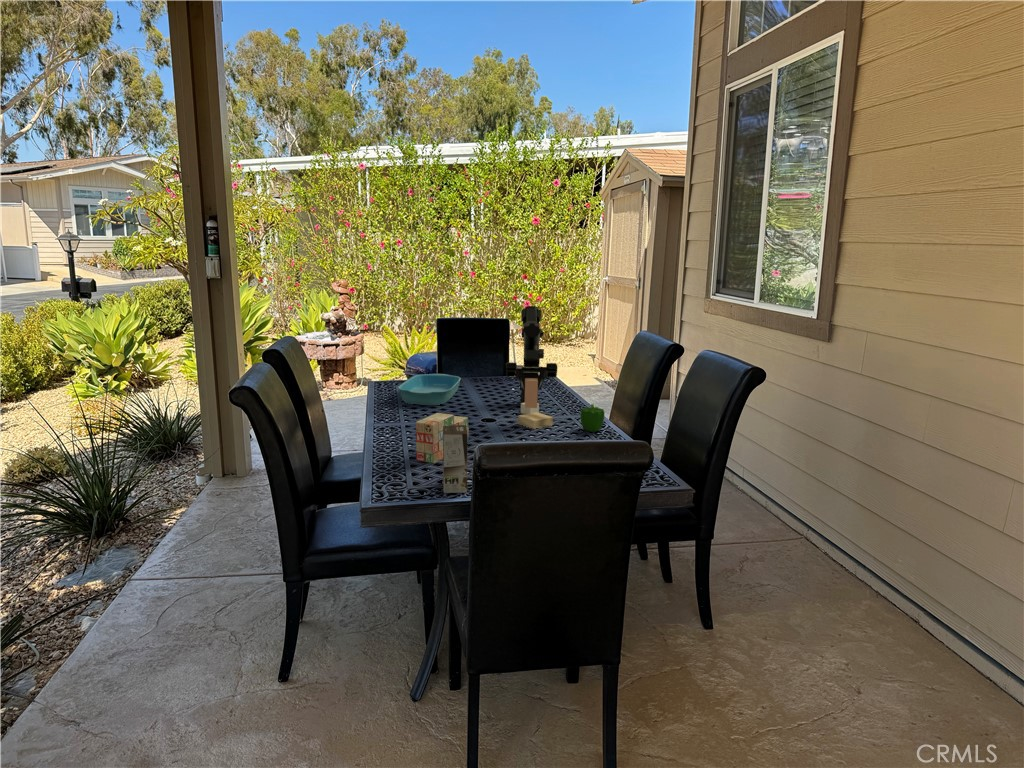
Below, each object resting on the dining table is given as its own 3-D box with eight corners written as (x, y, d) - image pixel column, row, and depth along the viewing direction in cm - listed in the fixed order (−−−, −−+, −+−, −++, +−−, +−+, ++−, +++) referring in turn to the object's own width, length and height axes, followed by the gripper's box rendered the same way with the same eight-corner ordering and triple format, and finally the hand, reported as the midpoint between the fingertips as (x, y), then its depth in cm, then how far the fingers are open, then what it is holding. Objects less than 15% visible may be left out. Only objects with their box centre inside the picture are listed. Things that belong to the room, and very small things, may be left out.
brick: (529, 411, 258) (529, 401, 257) (538, 413, 254) (539, 403, 253) (520, 413, 254) (520, 403, 253) (530, 415, 251) (530, 405, 250)
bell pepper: (585, 425, 237) (586, 399, 235) (606, 429, 233) (608, 402, 231) (575, 431, 230) (576, 403, 228) (597, 434, 226) (598, 406, 224)
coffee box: (467, 493, 171) (467, 433, 168) (443, 493, 170) (442, 434, 167) (466, 480, 180) (466, 424, 177) (443, 481, 179) (442, 424, 176)
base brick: (537, 421, 244) (537, 412, 243) (552, 426, 237) (553, 417, 236) (518, 424, 238) (518, 415, 238) (533, 430, 231) (533, 420, 231)
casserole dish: (446, 409, 259) (446, 392, 257) (392, 407, 261) (391, 389, 260) (465, 390, 294) (465, 374, 293) (416, 387, 297) (416, 372, 296)
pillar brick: (524, 404, 238) (525, 378, 236) (536, 405, 238) (537, 378, 236) (524, 407, 234) (525, 380, 232) (537, 408, 234) (537, 380, 232)
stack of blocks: (452, 442, 215) (452, 406, 213) (468, 445, 213) (468, 408, 210) (415, 460, 196) (415, 421, 194) (433, 464, 194) (433, 424, 191)
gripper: (506, 340, 235) (505, 376, 227) (557, 341, 235) (558, 377, 227) (506, 358, 245) (505, 393, 236) (556, 359, 244) (556, 394, 236)
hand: (531, 389), depth 233 cm, fingers closed on pillar brick, 4 cm apart
